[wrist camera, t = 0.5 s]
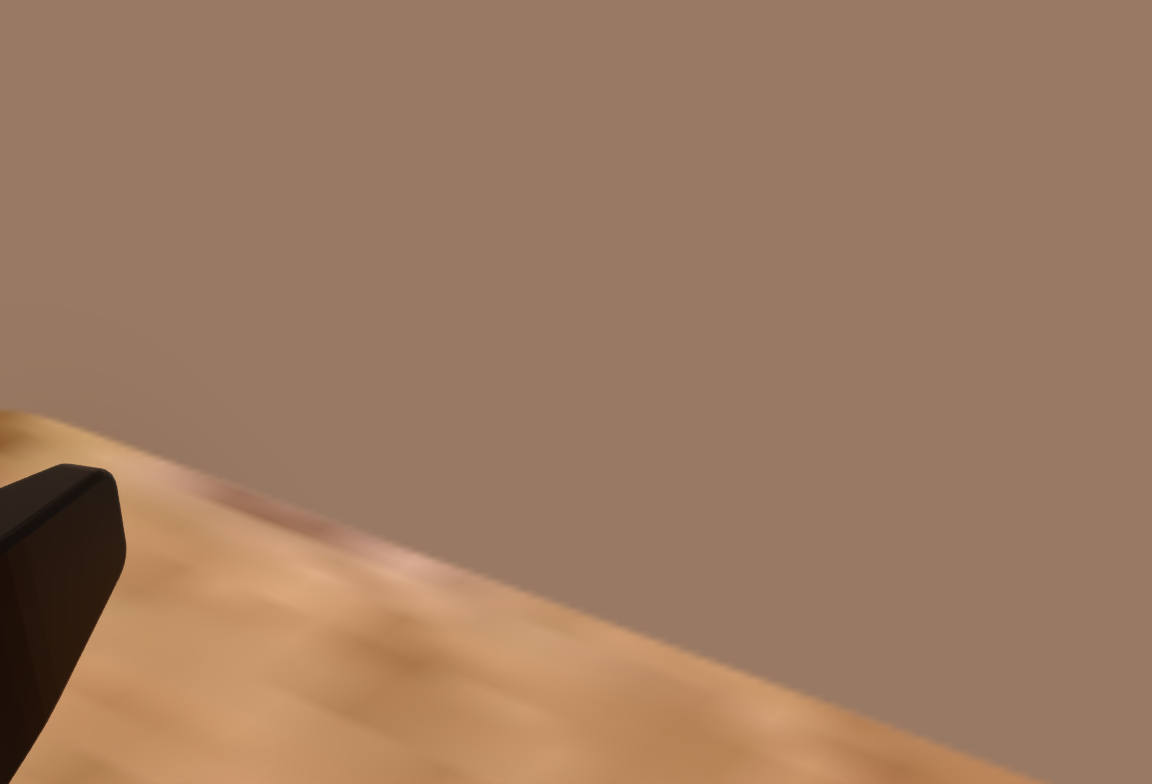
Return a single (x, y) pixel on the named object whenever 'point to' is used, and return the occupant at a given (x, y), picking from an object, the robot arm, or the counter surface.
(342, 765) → the counter surface
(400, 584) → the counter surface
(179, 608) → the counter surface
